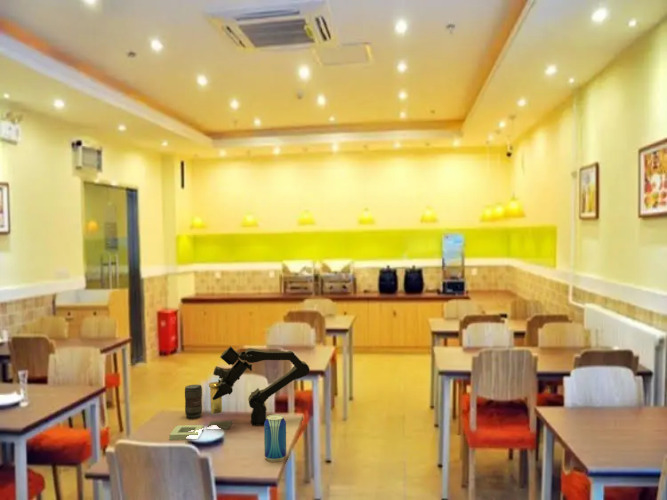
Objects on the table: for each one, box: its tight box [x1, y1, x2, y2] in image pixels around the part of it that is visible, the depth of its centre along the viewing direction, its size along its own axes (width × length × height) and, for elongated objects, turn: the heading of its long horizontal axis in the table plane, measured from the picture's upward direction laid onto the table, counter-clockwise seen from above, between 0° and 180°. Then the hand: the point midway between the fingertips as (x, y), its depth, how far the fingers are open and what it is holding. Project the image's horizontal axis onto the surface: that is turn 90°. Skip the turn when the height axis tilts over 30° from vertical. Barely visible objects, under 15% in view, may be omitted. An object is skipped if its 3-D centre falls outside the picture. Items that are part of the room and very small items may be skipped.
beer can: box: [263, 414, 287, 463], centre depth 212 cm, size 8×8×16 cm
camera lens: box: [184, 384, 203, 420], centre depth 264 cm, size 8×8×15 cm
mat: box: [206, 420, 233, 431], centre depth 250 cm, size 10×10×1 cm
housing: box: [168, 424, 205, 441], centre depth 239 cm, size 12×12×2 cm
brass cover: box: [208, 381, 223, 414], centre depth 249 cm, size 6×6×13 cm
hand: (213, 397), depth 249 cm, fingers closed on brass cover, 5 cm apart
